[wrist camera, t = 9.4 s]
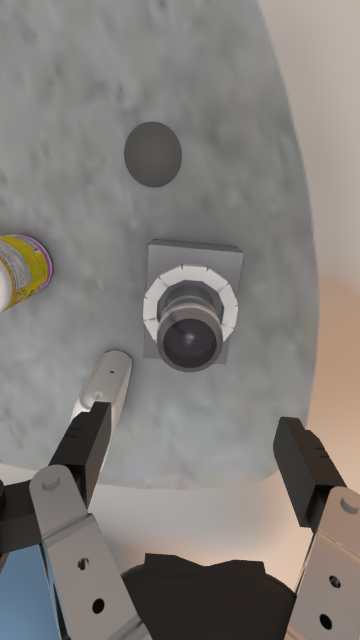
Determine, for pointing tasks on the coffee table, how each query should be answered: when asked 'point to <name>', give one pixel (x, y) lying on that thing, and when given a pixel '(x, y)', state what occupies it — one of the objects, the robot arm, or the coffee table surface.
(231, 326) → the camera body
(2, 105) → the coffee table surface
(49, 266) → the supplement bottle
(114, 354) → the photo printer
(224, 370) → the coffee table surface
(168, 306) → the lens
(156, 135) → the lens cap
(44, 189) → the coffee table surface
